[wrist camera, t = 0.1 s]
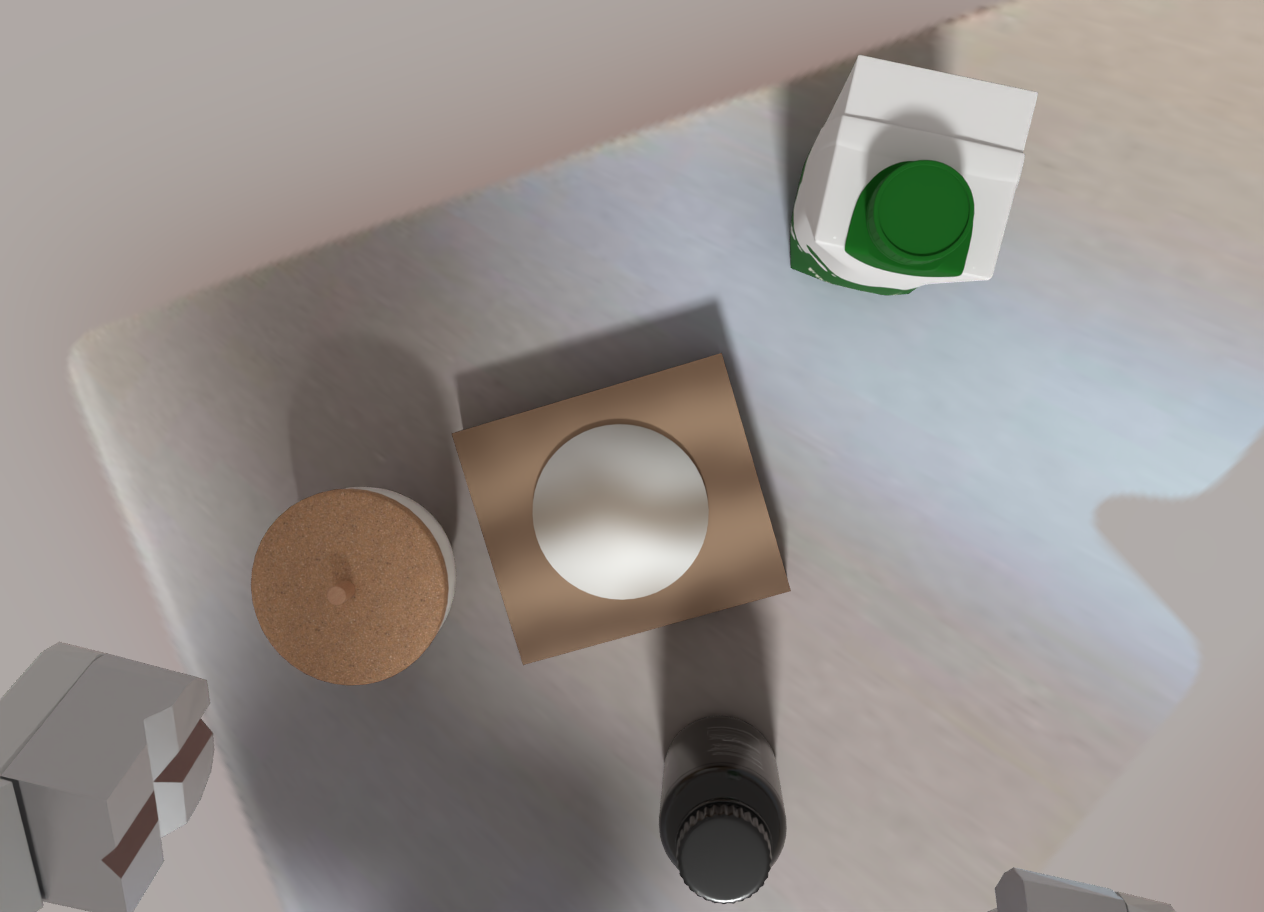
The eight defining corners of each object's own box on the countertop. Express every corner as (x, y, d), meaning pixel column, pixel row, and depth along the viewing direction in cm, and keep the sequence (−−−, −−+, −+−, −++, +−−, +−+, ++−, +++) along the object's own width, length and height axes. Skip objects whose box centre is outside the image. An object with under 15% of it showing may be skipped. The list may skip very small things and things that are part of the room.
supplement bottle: (640, 762, 67) (626, 850, 55) (724, 690, 66) (728, 763, 54) (716, 845, 67) (718, 950, 55) (801, 773, 66) (821, 864, 54)
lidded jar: (266, 559, 67) (195, 591, 58) (387, 438, 66) (335, 451, 57) (388, 684, 68) (337, 736, 58) (511, 566, 66) (479, 600, 57)
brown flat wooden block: (787, 580, 65) (791, 592, 62) (531, 651, 67) (522, 666, 63) (720, 353, 64) (721, 352, 61) (463, 430, 66) (450, 433, 63)
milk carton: (771, 280, 64) (800, 246, 44) (807, 124, 63) (854, 16, 43) (920, 313, 63) (1018, 293, 44) (959, 156, 62) (1077, 63, 43)
